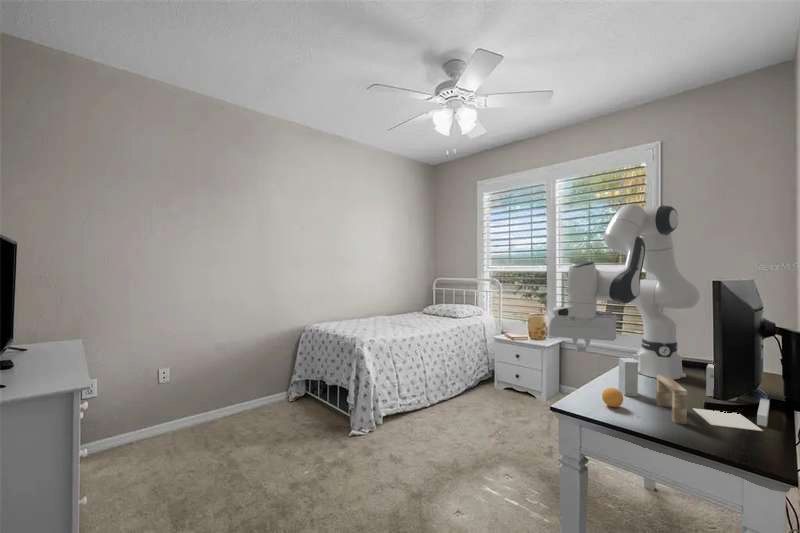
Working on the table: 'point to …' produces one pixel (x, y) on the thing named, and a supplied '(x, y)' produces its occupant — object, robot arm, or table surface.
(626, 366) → the skincare box
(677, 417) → the bridge
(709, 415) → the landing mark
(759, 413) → the rail
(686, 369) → the table surface
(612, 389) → the ball
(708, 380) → the small box
